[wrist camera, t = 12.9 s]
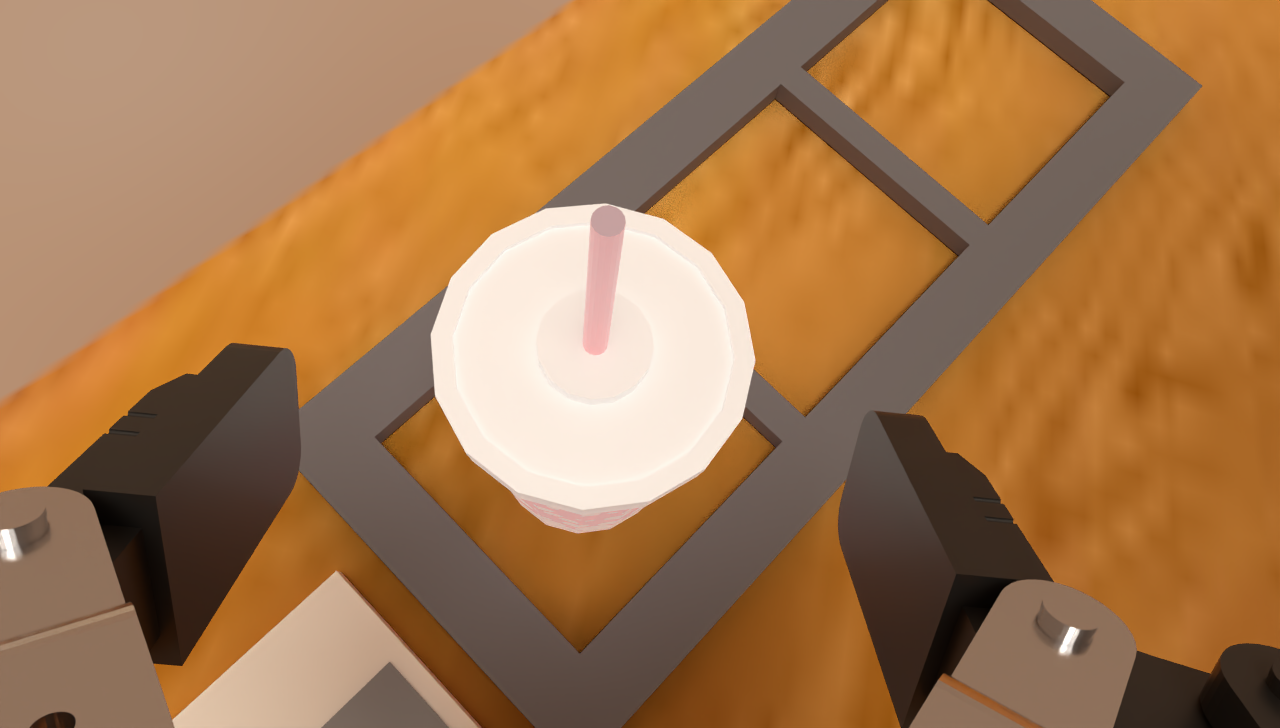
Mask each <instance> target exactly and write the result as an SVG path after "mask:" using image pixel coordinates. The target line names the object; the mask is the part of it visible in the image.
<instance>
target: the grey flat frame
mask: <svg viewBox="0 0 1280 728" xmlns="http://www.w3.org/2000/svg"><path fill="white" fill-rule="evenodd" d="M887 1H888V0H791V1H790V2H789V3H788V4H787V5H785V6H784V7H783V8H782V9H781V10H779V11H778V12H777V13H776V14H774V15H773V16H772V17H771V18H770V19H768V20H767V21H766V22H765V23H764V24H762V25H761V26H760V27H759V28H758V29H756V30H755V31H754V32H753V33H752V34H750V35H749V36H748V37H747V38H746V39H744V40H743V41H742V42H741V43H740V44H738V45H737V46H736V47H735V48H734V49H732V50H731V51H730V52H729V53H728V54H726V55H725V56H724V57H723V58H722V59H720V60H719V61H718V62H717V63H715V64H714V65H713V66H712V67H711V68H709V69H708V70H707V71H706V72H705V73H703V74H702V75H701V76H700V77H699V78H697V79H696V80H695V81H694V82H693V83H691V84H690V85H689V86H688V87H687V88H685V89H684V90H683V91H682V92H681V93H679V94H678V95H677V96H676V97H675V98H673V99H672V100H671V101H670V102H669V103H667V104H666V105H665V106H664V107H663V108H661V109H660V110H659V111H658V112H657V113H655V114H654V115H653V116H652V117H650V118H649V119H648V120H647V121H646V122H644V123H643V124H642V125H641V126H640V127H638V128H637V129H636V130H635V131H634V132H632V133H631V134H630V135H629V136H628V137H626V138H625V139H624V140H623V141H622V142H620V143H619V144H618V145H617V146H616V147H614V148H613V149H612V150H611V151H610V152H608V153H607V154H606V155H605V156H604V157H602V158H601V159H600V160H599V161H598V162H596V163H595V164H594V165H593V166H592V167H590V168H589V169H588V170H587V171H585V172H584V173H583V174H582V175H581V176H579V177H578V178H577V179H576V180H575V181H573V182H572V183H571V184H570V185H569V186H567V187H566V188H565V189H564V190H563V191H561V192H560V193H559V194H558V195H557V196H555V197H554V198H553V199H552V200H551V201H549V202H548V203H547V204H546V205H545V206H543V207H542V208H541V209H540V210H539V211H537V212H540V211H542V210H544V209H546V208H558V207H569V206H581V205H593V204H605V203H606V204H610V205H613V206H617V207H621V208H625V209H628V210H632V211H636V212H639V213H643V214H644V213H645V212H646V211H647V210H649V209H650V208H651V207H652V206H653V205H654V204H655V203H657V202H658V201H659V200H660V199H661V198H662V197H663V196H665V195H666V194H667V193H668V192H669V191H670V190H671V189H673V188H674V187H675V186H676V185H677V184H678V183H679V182H681V181H682V180H683V179H684V178H685V177H686V176H687V175H689V174H690V173H691V172H692V171H693V170H694V169H695V168H697V167H698V166H699V165H700V164H701V163H702V162H703V161H705V160H706V159H707V158H708V157H709V156H710V155H711V154H713V153H714V152H715V151H716V150H717V149H718V148H720V147H721V146H722V145H723V144H724V143H725V142H726V141H728V140H729V139H730V138H731V137H732V136H733V135H734V134H736V133H737V132H738V131H739V130H740V129H741V128H742V127H744V126H745V125H746V124H747V123H748V122H749V121H750V120H752V119H753V118H754V117H755V116H756V115H757V114H758V113H760V112H761V111H762V110H763V109H764V108H765V107H766V106H768V105H769V104H770V103H771V102H772V101H773V100H774V99H776V100H777V101H778V102H780V103H781V104H782V105H783V106H784V107H785V108H787V109H788V110H789V111H790V112H791V113H792V114H794V115H795V116H796V117H797V118H798V119H799V120H801V121H802V122H803V123H804V124H805V125H806V126H808V127H809V128H810V129H811V130H812V131H813V132H815V133H816V134H817V135H818V136H819V137H820V138H822V139H823V140H824V141H825V142H826V143H827V144H829V145H830V146H831V147H832V148H833V149H834V150H836V151H837V152H838V153H839V154H840V155H841V156H843V157H844V158H845V159H846V160H847V161H848V162H850V163H851V164H852V165H853V166H854V167H855V168H857V169H858V170H859V171H860V172H861V173H862V174H864V175H865V176H866V177H867V178H868V179H869V180H871V181H872V182H873V183H874V184H875V185H876V186H878V187H879V188H880V189H881V190H882V191H883V192H885V193H886V194H887V195H888V196H889V197H890V198H892V199H893V200H894V201H895V202H896V203H897V204H899V205H900V206H901V207H902V208H903V209H904V210H906V211H907V212H908V213H909V214H910V215H911V216H913V217H914V218H915V219H916V220H917V221H918V222H920V223H921V224H922V225H923V226H924V227H925V228H927V229H928V230H929V231H930V232H931V233H932V234H934V235H935V236H936V237H937V238H938V239H939V240H941V241H942V242H943V243H944V244H945V245H946V246H948V247H949V248H950V249H951V250H952V251H953V252H955V253H956V254H957V255H958V257H957V258H956V259H955V260H954V262H953V263H952V264H951V265H950V266H949V267H948V268H947V269H946V270H945V271H944V272H943V273H942V274H941V275H940V276H939V277H938V278H937V279H936V280H935V281H934V282H933V284H932V285H931V286H930V287H929V288H928V289H927V290H926V291H925V292H924V293H923V294H922V295H921V296H920V297H919V298H918V299H917V300H916V301H915V302H914V303H913V305H912V306H911V307H910V308H909V309H908V310H907V311H906V312H905V313H904V314H903V315H902V316H901V317H900V318H899V319H898V320H897V321H896V322H895V323H894V324H893V325H892V327H891V328H890V329H889V330H888V331H887V332H886V333H885V334H884V335H883V336H882V337H881V338H880V339H879V340H878V341H877V342H876V343H875V344H874V345H873V346H872V348H871V349H870V350H869V351H868V352H867V353H866V354H865V355H864V356H863V357H862V358H861V359H860V360H859V361H858V362H857V363H856V364H855V365H854V366H853V367H852V369H851V370H850V371H849V372H848V373H847V374H846V375H845V376H844V377H843V378H842V379H841V380H840V381H839V382H838V383H837V384H836V385H835V386H834V387H833V388H832V389H831V391H830V392H829V393H828V394H827V395H826V396H825V397H824V398H823V399H822V400H821V401H820V402H819V403H818V404H817V405H816V406H815V407H814V408H813V409H812V410H811V412H810V413H809V414H808V415H807V416H806V417H804V416H803V415H802V414H801V413H800V412H799V411H798V410H797V409H796V408H794V407H793V406H792V405H791V404H790V403H789V402H788V401H787V400H786V399H785V398H784V397H783V396H782V395H781V394H779V393H778V392H777V391H776V390H775V389H774V388H773V387H772V386H771V385H770V384H769V383H768V382H767V381H766V380H764V379H763V378H762V377H761V376H760V375H759V374H758V373H757V372H756V371H755V370H754V369H753V373H752V377H751V382H750V386H749V391H748V395H747V400H746V404H745V409H744V413H743V417H744V418H745V419H746V420H747V421H748V422H749V423H750V424H751V425H752V426H754V427H755V428H756V429H757V430H758V431H759V432H760V433H761V434H762V435H763V436H764V437H765V438H766V439H767V440H768V441H769V442H770V443H771V444H772V445H774V446H775V447H776V448H775V449H774V450H773V451H772V452H771V453H770V455H769V456H768V457H767V458H766V459H765V460H764V461H763V462H762V463H761V464H760V465H759V466H758V467H757V468H756V469H755V470H754V471H753V472H752V473H751V474H750V476H749V477H748V478H747V479H746V480H745V481H744V482H743V483H742V484H741V485H740V486H739V487H738V488H737V489H736V490H735V491H734V492H733V493H732V494H731V495H730V497H729V498H728V499H727V500H726V501H725V502H724V503H723V504H722V505H721V506H720V507H719V508H718V509H717V510H716V511H715V512H714V513H713V514H712V515H711V516H710V517H709V519H708V520H707V521H706V522H705V523H704V524H703V525H702V526H701V527H700V528H699V529H698V530H697V531H696V532H695V533H694V534H693V535H692V536H691V537H690V538H689V540H688V541H687V542H686V543H685V544H684V545H683V546H682V547H681V548H680V549H679V550H678V551H677V552H676V553H675V554H674V555H673V556H672V557H671V558H670V559H669V561H668V562H667V563H666V564H665V565H664V566H663V567H662V568H661V569H660V570H659V571H658V572H657V573H656V574H655V575H654V576H653V577H652V578H651V579H650V580H649V581H648V583H647V584H646V585H645V586H644V587H643V588H642V589H641V590H640V591H639V592H638V593H637V594H636V595H635V596H634V597H633V598H632V599H631V600H630V601H629V602H628V604H627V605H626V606H625V607H624V608H623V609H622V610H621V611H620V612H619V613H618V614H617V615H616V616H615V617H614V618H613V619H612V620H611V621H610V622H609V623H608V625H607V626H606V627H605V628H604V629H603V630H602V631H601V632H600V633H599V634H598V635H597V636H596V637H595V638H594V639H593V640H592V641H591V642H590V643H589V644H588V645H587V647H586V648H585V649H584V650H583V651H582V652H581V653H579V652H578V651H577V650H576V649H575V648H574V647H573V646H572V645H571V644H570V643H569V642H568V641H567V640H566V639H565V638H564V637H563V636H562V634H561V633H560V632H559V631H558V630H557V629H556V628H555V627H554V626H553V625H552V624H551V623H550V622H549V621H548V620H547V619H546V618H545V617H544V616H543V614H542V613H541V612H540V611H539V610H538V609H537V608H536V607H535V606H534V605H533V604H532V603H531V602H530V601H529V600H528V599H527V598H526V597H525V595H524V594H523V593H522V592H521V591H520V590H519V589H518V588H517V587H516V586H515V585H514V584H513V583H512V582H511V581H510V580H509V579H508V578H507V576H506V575H505V574H504V573H503V572H502V571H501V570H500V569H499V568H498V567H497V566H496V565H495V564H494V563H493V562H492V561H491V560H490V559H489V557H488V556H487V555H486V554H485V553H484V552H483V551H482V550H481V549H480V548H479V547H478V546H477V545H476V544H475V543H474V542H473V541H472V540H471V538H470V537H469V536H468V535H467V534H466V533H465V532H464V531H463V530H462V529H461V528H460V527H459V526H458V525H457V524H456V523H455V522H454V521H453V519H452V518H451V517H450V516H449V515H448V514H447V513H446V512H445V511H444V510H443V509H442V508H441V507H440V506H439V505H438V504H437V503H436V502H435V500H434V499H433V498H432V497H431V496H430V495H429V494H428V493H427V492H426V491H425V490H424V489H423V488H422V487H421V486H420V485H419V484H418V483H417V481H416V480H415V479H414V478H413V477H412V476H411V475H410V474H409V473H408V472H407V471H406V470H405V469H404V468H403V467H402V466H401V465H400V464H399V462H398V461H397V460H396V459H395V458H394V457H393V456H392V455H391V454H390V453H389V452H388V451H387V450H386V449H385V448H384V447H383V446H382V445H381V443H382V442H383V441H384V440H385V439H386V438H387V437H389V436H390V435H391V434H392V433H393V432H394V431H395V430H397V429H398V428H399V427H400V426H401V425H402V424H404V423H405V422H406V421H407V420H408V419H409V418H410V417H412V416H413V415H414V414H415V413H416V412H417V411H418V410H420V409H421V408H422V407H423V406H424V405H425V404H426V403H428V402H429V401H430V400H431V399H432V398H433V397H434V396H435V388H434V374H433V360H432V347H431V332H432V329H433V326H434V324H435V321H436V318H437V315H438V313H439V310H440V307H441V304H442V302H443V299H444V296H445V293H446V290H447V288H448V286H447V287H446V288H445V289H443V290H442V291H441V292H440V293H439V294H437V295H436V296H435V297H434V298H433V299H431V300H430V301H429V302H428V303H427V304H425V305H424V306H423V307H422V308H421V309H419V310H418V311H417V312H416V313H415V314H413V315H412V316H411V317H410V318H409V319H407V320H406V321H405V322H404V323H403V324H401V325H400V326H399V327H398V328H396V329H395V330H394V331H393V332H392V333H390V334H389V335H388V336H387V337H386V338H384V339H383V340H382V341H381V342H380V343H378V344H377V345H376V346H375V347H374V348H372V349H371V350H370V351H369V352H368V353H366V354H365V355H364V356H363V357H362V358H360V359H359V360H358V361H357V362H356V363H354V364H353V365H352V366H351V367H350V368H348V369H347V370H346V371H345V372H344V373H342V374H341V375H340V376H339V377H338V378H336V379H335V380H334V381H333V382H331V383H330V384H329V385H328V386H327V387H325V388H324V389H323V390H322V391H321V392H319V393H318V394H317V395H316V396H315V397H313V398H312V399H311V400H310V401H309V402H307V403H306V404H305V405H304V406H303V407H301V408H300V409H299V422H300V438H301V459H300V466H299V471H300V472H301V473H302V474H303V475H304V477H305V478H306V479H307V480H308V481H309V482H310V483H311V484H312V485H313V486H314V487H315V488H316V490H317V491H318V492H319V493H320V494H321V495H322V496H323V497H324V498H325V499H326V500H327V502H328V503H329V504H330V505H331V506H332V507H333V508H334V509H335V510H336V511H337V512H338V514H339V515H340V516H341V517H342V518H343V519H344V520H345V521H346V522H347V523H348V524H349V526H350V527H351V528H352V529H353V530H354V531H355V532H356V533H357V534H358V535H359V536H360V537H361V539H362V540H363V541H364V542H365V543H366V544H367V545H368V546H369V547H370V548H371V549H372V551H373V552H374V553H375V554H376V555H377V556H378V557H379V558H380V559H381V560H382V561H383V563H384V564H385V565H386V566H387V567H388V568H389V569H390V570H391V571H392V572H393V573H394V575H395V576H396V577H397V578H398V579H399V580H400V581H401V582H402V583H403V584H404V585H405V586H406V588H407V589H408V590H409V591H410V592H411V593H412V594H413V595H414V596H415V597H416V598H417V600H418V601H419V602H420V603H421V604H422V605H423V606H424V607H425V608H426V609H427V610H428V612H429V613H430V614H431V615H432V616H433V617H434V618H435V619H436V620H437V621H438V622H439V624H440V625H441V626H442V627H443V628H444V629H445V630H446V631H447V632H448V633H449V634H450V636H451V637H452V638H453V639H454V640H455V641H456V642H457V643H458V644H459V645H460V646H461V647H462V649H463V650H464V651H465V652H466V653H467V654H468V655H469V656H470V657H471V658H472V659H473V661H474V662H475V663H476V664H477V665H478V666H479V667H480V668H481V669H482V670H483V671H484V673H485V674H486V675H487V676H488V677H489V678H490V679H491V680H492V681H493V682H494V683H495V685H496V686H497V687H498V688H499V689H500V690H501V691H502V692H503V693H504V694H505V695H506V696H507V698H508V699H509V700H510V701H511V702H512V703H513V704H514V705H515V706H516V707H517V708H518V710H519V711H520V712H521V713H522V714H523V715H524V716H525V717H526V718H527V719H528V720H529V722H530V723H531V724H532V725H533V726H534V727H535V728H621V727H622V726H623V725H624V724H625V723H626V722H627V721H628V720H629V719H630V718H631V716H632V715H633V714H634V713H635V712H636V711H637V710H638V709H639V708H640V706H641V705H642V704H643V703H644V702H645V701H646V700H647V699H648V698H649V697H650V695H651V694H652V693H653V692H654V691H655V690H656V689H657V688H658V687H659V686H660V684H661V683H662V682H663V681H664V680H665V679H666V678H667V677H668V676H669V674H670V673H671V672H672V671H673V670H674V669H675V668H676V667H677V666H678V665H679V663H680V662H681V661H682V660H683V659H684V658H685V657H686V656H687V655H688V653H689V652H690V651H691V650H692V649H693V648H694V647H695V646H696V645H697V644H698V642H699V641H700V640H701V639H702V638H703V637H704V636H705V635H706V634H707V633H708V631H709V630H710V629H711V628H712V627H713V626H714V625H715V624H716V623H717V621H718V620H719V619H720V618H721V617H722V616H723V615H724V614H725V613H726V612H727V610H728V609H729V608H730V607H731V606H732V605H733V604H734V603H735V602H736V601H737V599H738V598H739V597H740V596H741V595H742V594H743V593H744V592H745V591H746V589H747V588H748V587H749V586H750V585H751V584H752V583H753V582H754V581H755V580H756V578H757V577H758V576H759V575H760V574H761V573H762V572H763V571H764V570H765V568H766V567H767V566H768V565H769V564H770V563H771V562H772V561H773V560H774V559H775V557H776V556H777V555H778V554H779V553H780V552H781V551H782V550H783V549H784V548H785V546H786V545H787V544H788V543H789V542H790V541H791V540H792V539H793V538H794V536H795V535H796V534H797V533H798V532H799V531H800V530H801V529H802V528H803V527H804V525H805V524H806V523H807V522H808V521H809V520H810V519H811V518H812V517H813V515H814V514H815V513H816V512H817V511H818V510H819V509H820V508H821V507H822V506H823V504H824V503H825V502H826V501H827V500H828V499H829V498H830V497H831V496H832V495H833V493H834V492H835V491H836V490H837V489H838V488H839V487H840V486H841V485H842V483H843V482H844V481H845V480H846V479H847V476H848V472H849V468H850V464H851V461H852V457H853V453H854V449H855V446H856V442H857V438H858V434H859V430H860V427H861V424H862V421H863V419H864V417H865V415H866V414H867V413H868V412H869V411H871V410H872V411H882V412H892V413H901V414H906V413H907V412H908V411H909V410H910V408H911V407H912V406H913V405H914V404H915V403H916V402H917V401H918V400H919V398H920V397H921V396H922V395H923V394H924V393H925V392H926V391H927V390H928V389H929V387H930V386H931V385H932V384H933V383H934V382H935V381H936V380H937V379H938V377H939V376H940V375H941V374H942V373H943V372H944V371H945V370H946V369H947V368H948V366H949V365H950V364H951V363H952V362H953V361H954V360H955V359H956V358H957V357H958V355H959V354H960V353H961V352H962V351H963V350H964V349H965V348H966V347H967V345H968V344H969V343H970V342H971V341H972V340H973V339H974V338H975V337H976V336H977V334H978V333H979V332H980V331H981V330H982V329H983V328H984V327H985V326H986V325H987V323H988V322H989V321H990V320H991V319H992V318H993V317H994V316H995V315H996V313H997V312H998V311H999V310H1000V309H1001V308H1002V307H1003V306H1004V305H1005V304H1006V302H1007V301H1008V300H1009V299H1010V298H1011V297H1012V296H1013V295H1014V294H1015V292H1016V291H1017V290H1018V289H1019V288H1020V287H1021V286H1022V285H1023V284H1024V283H1025V281H1026V280H1027V279H1028V278H1029V277H1030V276H1031V275H1032V274H1033V273H1034V272H1035V270H1036V269H1037V268H1038V267H1039V266H1040V265H1041V264H1042V263H1043V262H1044V260H1045V259H1046V258H1047V257H1048V256H1049V255H1050V254H1051V253H1052V252H1053V251H1054V249H1055V248H1056V247H1057V246H1058V245H1059V244H1060V243H1061V242H1062V241H1063V239H1064V238H1065V237H1066V236H1067V235H1068V234H1069V233H1070V232H1071V231H1072V230H1073V228H1074V227H1075V226H1076V225H1077V224H1078V223H1079V222H1080V221H1081V220H1082V219H1083V217H1084V216H1085V215H1086V214H1087V213H1088V212H1089V211H1090V210H1091V209H1092V207H1093V206H1094V205H1095V204H1096V203H1097V202H1098V201H1099V200H1100V199H1101V198H1102V196H1103V195H1104V194H1105V193H1106V192H1107V191H1108V190H1109V189H1110V188H1111V186H1112V185H1113V184H1114V183H1115V182H1116V181H1117V180H1118V179H1119V178H1120V177H1121V175H1122V174H1123V173H1124V172H1125V171H1126V170H1127V169H1128V168H1129V167H1130V166H1131V164H1132V163H1133V162H1134V161H1135V160H1136V159H1137V158H1138V157H1139V156H1140V154H1141V153H1142V152H1143V151H1144V150H1145V149H1146V148H1147V147H1148V146H1149V145H1150V143H1151V142H1152V141H1153V140H1154V139H1155V138H1156V137H1157V136H1158V135H1159V134H1160V132H1161V131H1162V130H1163V129H1164V128H1165V127H1166V126H1167V125H1168V124H1169V122H1170V121H1171V120H1172V119H1173V118H1174V117H1175V116H1176V115H1177V114H1178V113H1179V111H1180V110H1181V109H1182V108H1183V107H1184V106H1185V105H1186V104H1187V103H1188V101H1189V100H1190V99H1191V98H1192V97H1193V96H1194V95H1195V94H1196V93H1197V92H1198V90H1199V89H1200V88H1201V87H1202V85H1201V84H1199V83H1198V82H1197V81H1195V80H1194V79H1193V78H1192V77H1190V76H1189V75H1188V74H1186V73H1185V72H1184V71H1182V70H1181V69H1180V68H1178V67H1177V66H1176V65H1175V64H1173V63H1172V62H1171V61H1169V60H1168V59H1167V58H1165V57H1164V56H1163V55H1162V54H1160V53H1159V52H1158V51H1156V50H1155V49H1154V48H1152V47H1151V46H1150V45H1149V44H1147V43H1146V42H1145V41H1143V40H1142V39H1141V38H1139V37H1138V36H1137V35H1136V34H1134V33H1133V32H1132V31H1130V30H1129V29H1128V28H1126V27H1125V26H1124V25H1123V24H1121V23H1120V22H1119V21H1117V20H1116V19H1115V18H1113V17H1112V16H1111V15H1110V14H1108V13H1107V12H1106V11H1104V10H1103V9H1102V8H1100V7H1099V6H1098V5H1097V4H1095V3H1094V2H1093V1H1091V0H989V1H990V2H991V3H993V4H994V5H995V6H996V7H998V8H999V9H1000V10H1002V11H1003V12H1004V13H1005V14H1007V15H1008V16H1009V17H1010V18H1012V19H1013V20H1014V21H1016V22H1017V23H1018V24H1019V25H1021V26H1022V27H1023V28H1024V29H1026V30H1027V31H1028V32H1029V33H1031V34H1032V35H1033V36H1035V37H1036V38H1037V39H1038V40H1040V41H1041V42H1042V43H1043V44H1045V45H1046V46H1047V47H1049V48H1050V49H1051V50H1052V51H1054V52H1055V53H1056V54H1057V55H1059V56H1060V57H1061V58H1062V59H1064V60H1065V61H1066V62H1068V63H1069V64H1070V65H1071V66H1073V67H1074V68H1075V69H1076V70H1078V71H1079V72H1080V73H1082V74H1083V75H1084V76H1085V77H1087V78H1088V79H1089V80H1090V81H1092V82H1093V83H1094V84H1095V85H1097V86H1098V87H1099V88H1101V89H1102V90H1103V91H1104V92H1106V93H1107V94H1108V95H1109V96H1111V97H1110V98H1109V99H1108V100H1107V101H1106V102H1105V103H1104V104H1103V105H1102V106H1101V107H1100V108H1099V109H1098V110H1097V111H1096V113H1095V114H1094V115H1093V116H1092V117H1091V118H1090V119H1089V120H1088V121H1087V122H1086V123H1085V124H1084V125H1083V126H1082V127H1081V128H1080V129H1079V130H1078V131H1077V132H1076V134H1075V135H1074V136H1073V137H1072V138H1071V139H1070V140H1069V141H1068V142H1067V143H1066V144H1065V145H1064V146H1063V147H1062V148H1061V149H1060V150H1059V151H1058V152H1057V153H1056V154H1055V156H1054V157H1053V158H1052V159H1051V160H1050V161H1049V162H1048V163H1047V164H1046V165H1045V166H1044V167H1043V168H1042V169H1041V170H1040V171H1039V172H1038V173H1037V174H1036V175H1035V177H1034V178H1033V179H1032V180H1031V181H1030V182H1029V183H1028V184H1027V185H1026V186H1025V187H1024V188H1023V189H1022V190H1021V191H1020V192H1019V193H1018V194H1017V195H1016V196H1015V198H1014V199H1013V200H1012V201H1011V202H1010V203H1009V204H1008V205H1007V206H1006V207H1005V208H1004V209H1003V210H1002V211H1001V212H1000V213H999V214H998V215H997V216H996V217H995V218H994V220H993V221H992V222H991V223H990V224H989V225H987V224H986V223H985V222H984V221H983V220H982V219H980V218H979V217H978V216H977V215H976V214H974V213H973V212H972V211H971V210H970V209H969V208H967V207H966V206H965V205H964V204H963V203H961V202H960V201H959V200H958V199H957V198H955V197H954V196H953V195H952V194H951V193H950V192H948V191H947V190H946V189H945V188H944V187H942V186H941V185H940V184H939V183H938V182H936V181H935V180H934V179H933V178H932V177H931V176H929V175H928V174H927V173H926V172H925V171H923V170H922V169H921V168H920V167H919V166H918V165H916V164H915V163H914V162H913V161H912V160H910V159H909V158H908V157H907V156H906V155H904V154H903V153H902V152H901V151H900V150H899V149H897V148H896V147H895V146H894V145H893V144H891V143H890V142H889V141H888V140H887V139H886V138H884V137H883V136H882V135H881V134H880V133H878V132H877V131H876V130H875V129H874V128H872V127H871V126H870V125H869V124H868V123H867V122H865V121H864V120H863V119H862V118H861V117H859V116H858V115H857V114H856V113H855V112H854V111H852V110H851V109H850V108H849V107H848V106H846V105H845V104H844V103H843V102H842V101H840V100H839V99H838V98H837V97H836V96H835V95H833V94H832V93H831V92H830V91H829V90H827V89H826V88H825V87H824V86H823V85H821V84H820V83H819V82H818V81H817V80H816V79H814V78H813V77H812V76H811V75H810V74H808V73H807V71H808V70H809V69H810V68H811V67H812V66H813V65H815V64H816V63H817V62H818V61H819V60H820V59H821V58H823V57H824V56H825V55H826V54H827V53H828V52H829V51H831V50H832V49H833V48H834V47H835V46H836V45H837V44H839V43H840V42H841V41H842V40H843V39H844V38H845V37H847V36H848V35H849V34H850V33H851V32H852V31H853V30H855V29H856V28H857V27H858V26H859V25H860V24H861V23H863V22H864V21H865V20H866V19H867V18H868V17H869V16H871V15H872V14H873V13H874V12H875V11H876V10H878V9H879V8H880V7H881V6H882V5H883V4H884V3H886V2H887ZM537 212H536V213H537Z"/></svg>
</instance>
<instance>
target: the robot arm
mask: <svg viewBox="0 0 1280 728" xmlns="http://www.w3.org/2000/svg"><path fill="white" fill-rule="evenodd" d="M300 459H301V438H300V422H299V407H298V392H297V376H296V364H295V359H294V356H293V354H292V352H291V351H290V350H289V349H287V348H277V347H267V346H258V345H248V344H238V343H231V344H229V345H228V346H226V347H225V348H224V349H223V350H222V351H221V352H220V353H219V354H218V355H217V356H216V357H215V358H214V359H213V360H212V361H211V362H210V363H209V364H208V365H207V366H206V367H205V368H204V369H203V370H202V371H201V372H200V373H199V374H198V375H194V374H185V375H183V376H180V377H178V378H176V379H174V380H172V381H170V382H168V383H165V384H163V385H161V386H159V387H157V388H155V389H153V390H151V391H150V392H149V393H147V394H146V395H145V396H144V397H143V398H142V399H141V400H140V401H139V402H138V403H137V404H136V405H135V406H133V407H132V408H131V409H130V410H129V411H128V416H123V417H122V418H121V419H119V420H118V421H117V422H116V423H115V424H114V425H113V426H112V427H111V428H110V429H109V434H105V433H104V434H103V435H102V436H101V437H100V438H99V439H98V440H97V441H96V442H95V443H94V444H93V445H91V446H90V447H89V448H88V449H87V450H86V451H85V452H84V453H83V454H82V455H81V456H80V457H79V458H77V459H76V460H75V461H74V462H73V463H72V464H71V465H70V466H69V467H68V468H67V469H66V470H65V471H63V472H62V473H61V474H60V475H59V476H58V477H57V478H56V479H55V480H54V481H53V482H52V483H51V484H49V485H48V486H47V487H30V488H21V489H15V490H10V491H5V492H1V493H0V728H175V727H174V724H173V721H172V718H171V715H170V712H169V709H168V706H167V703H166V700H165V698H164V695H163V692H162V689H161V686H160V683H159V680H158V677H157V674H156V671H155V668H154V665H153V663H154V664H166V665H178V666H182V665H183V664H184V662H185V660H186V659H187V657H188V656H189V654H190V652H191V651H192V649H193V648H194V646H195V645H196V643H197V641H198V640H199V638H200V637H201V635H202V633H203V632H204V630H205V629H206V627H207V625H208V624H209V622H210V621H211V619H212V617H213V616H214V614H215V613H216V611H217V609H218V608H219V606H220V605H221V603H222V601H223V600H224V598H225V597H226V595H227V593H228V592H229V590H230V589H231V587H232V585H233V584H234V582H235V581H236V579H237V578H238V576H239V574H240V573H241V571H242V570H243V568H244V566H245V565H246V563H247V562H248V560H249V558H250V557H251V555H252V554H253V552H254V550H255V549H256V547H257V546H258V544H259V542H260V541H261V539H262V538H263V536H264V534H265V533H266V531H267V530H268V528H269V526H270V525H271V523H272V522H273V520H274V518H275V517H276V515H277V514H278V512H279V510H280V509H281V507H282V506H283V504H284V503H285V501H286V499H287V498H288V496H289V495H290V493H291V491H292V489H293V487H294V485H295V482H296V479H297V475H298V471H299V466H300ZM1000 500H1001V499H1000V497H999V496H998V494H997V493H996V491H995V490H994V488H993V487H992V485H991V483H990V482H989V480H988V479H987V477H986V476H985V475H984V474H983V473H982V472H980V471H979V470H978V469H977V468H975V467H974V466H973V465H972V464H970V463H969V462H968V461H967V460H965V459H964V458H963V457H962V456H960V455H959V454H958V453H948V452H946V451H945V450H944V448H943V446H942V445H941V443H940V441H939V440H938V438H937V436H936V435H935V433H934V431H933V430H932V428H931V426H930V424H929V423H928V421H927V420H926V418H925V417H923V416H920V415H911V414H901V413H892V412H882V411H872V410H871V411H869V412H868V413H867V414H866V415H865V417H864V419H863V421H862V424H861V427H860V430H859V434H858V438H857V442H856V446H855V449H854V453H853V457H852V461H851V464H850V468H849V472H848V476H847V479H846V483H845V487H844V491H843V494H842V498H841V502H840V508H839V517H838V532H839V540H840V545H841V548H842V551H843V554H844V557H845V560H846V563H847V566H848V569H849V572H850V575H851V578H852V581H853V584H854V588H855V591H856V594H857V597H858V600H859V603H860V606H861V609H862V612H863V615H864V618H865V621H866V624H867V627H868V630H869V633H870V636H871V639H872V642H873V645H874V648H875V651H876V654H877V657H878V660H879V663H880V666H881V669H882V672H883V675H884V678H885V681H886V684H887V687H888V690H889V693H890V696H891V699H892V702H893V705H894V708H895V711H896V714H897V717H898V720H899V723H900V726H901V728H1280V649H1277V648H1274V647H1270V646H1265V645H1260V644H1249V643H1246V644H1237V645H1233V646H1230V647H1229V648H1227V649H1226V650H1225V651H1224V652H1223V653H1222V655H1221V656H1220V658H1219V660H1218V662H1217V664H1216V666H1215V667H1214V669H1213V671H1212V673H1211V674H1209V673H1206V672H1203V671H1200V670H1196V669H1193V668H1190V667H1187V666H1183V665H1180V664H1177V663H1174V662H1170V661H1167V660H1164V659H1161V658H1157V657H1154V656H1151V655H1148V654H1145V653H1142V652H1140V651H1137V648H1136V642H1135V640H1134V638H1133V635H1132V633H1131V632H1130V630H1129V629H1128V627H1127V626H1126V625H1125V624H1124V623H1123V621H1122V620H1121V619H1120V618H1119V617H1118V616H1117V615H1116V614H1114V613H1113V612H1112V611H1111V610H1110V609H1108V608H1107V607H1106V606H1104V605H1103V604H1102V603H1100V602H1099V601H1097V600H1095V599H1094V598H1092V597H1090V596H1088V595H1086V594H1084V593H1082V592H1080V591H1078V590H1076V589H1073V588H1071V587H1068V586H1065V585H1062V584H1059V583H1055V582H1054V581H1053V580H1052V578H1051V577H1050V575H1049V574H1048V572H1047V570H1046V569H1045V567H1044V566H1043V564H1042V563H1041V561H1040V560H1039V558H1038V556H1037V555H1036V553H1035V552H1034V550H1033V549H1032V547H1031V546H1030V544H1029V543H1028V541H1027V539H1026V538H1025V536H1024V535H1023V533H1022V532H1021V530H1020V529H1019V527H1018V525H1017V524H1013V518H1012V516H1011V515H1010V513H1009V511H1008V510H1007V508H1006V507H1005V505H1004V504H1000Z"/></svg>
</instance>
